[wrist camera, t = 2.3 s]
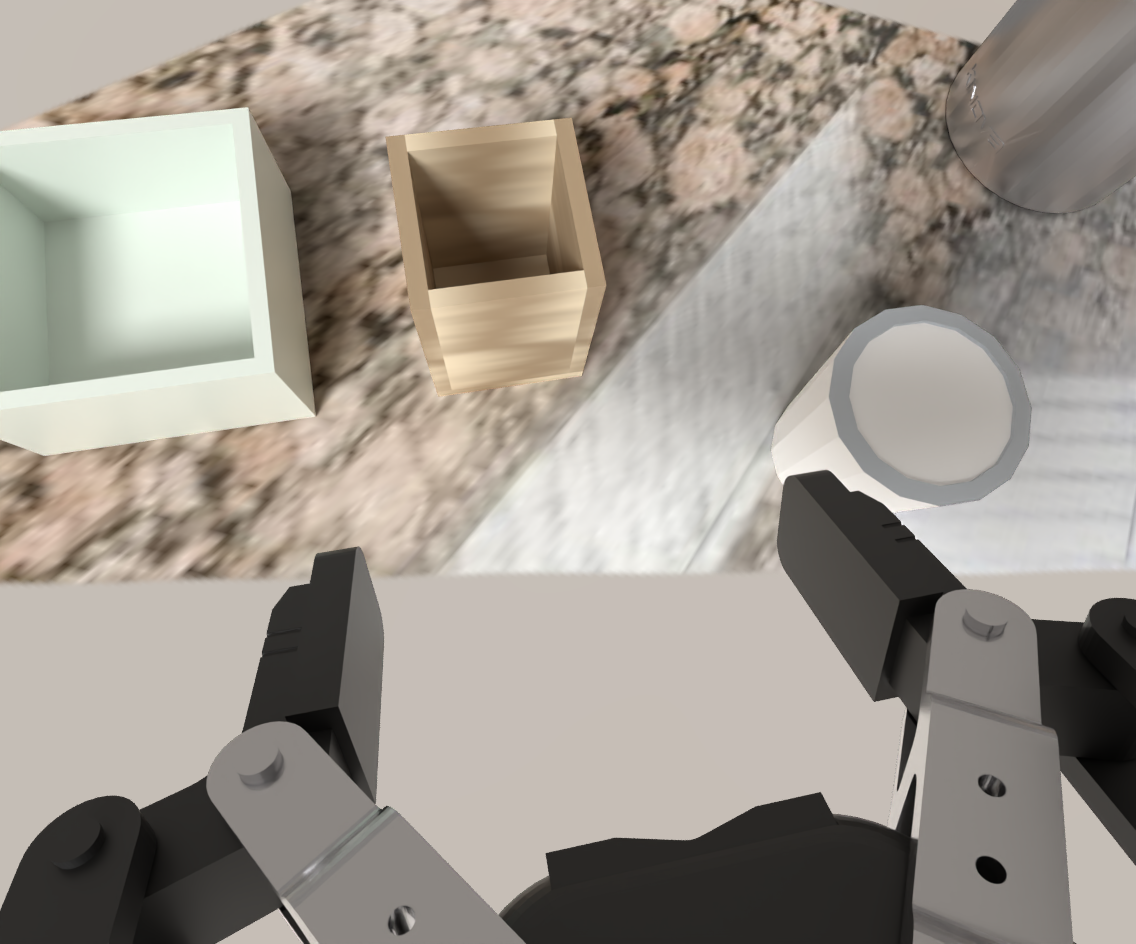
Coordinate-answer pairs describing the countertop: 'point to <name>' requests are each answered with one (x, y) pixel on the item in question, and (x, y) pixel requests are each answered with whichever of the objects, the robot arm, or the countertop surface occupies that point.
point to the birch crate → (498, 252)
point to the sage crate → (147, 283)
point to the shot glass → (910, 412)
